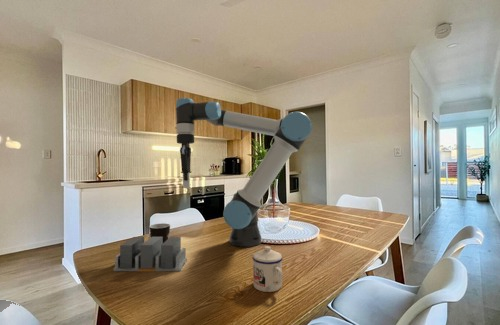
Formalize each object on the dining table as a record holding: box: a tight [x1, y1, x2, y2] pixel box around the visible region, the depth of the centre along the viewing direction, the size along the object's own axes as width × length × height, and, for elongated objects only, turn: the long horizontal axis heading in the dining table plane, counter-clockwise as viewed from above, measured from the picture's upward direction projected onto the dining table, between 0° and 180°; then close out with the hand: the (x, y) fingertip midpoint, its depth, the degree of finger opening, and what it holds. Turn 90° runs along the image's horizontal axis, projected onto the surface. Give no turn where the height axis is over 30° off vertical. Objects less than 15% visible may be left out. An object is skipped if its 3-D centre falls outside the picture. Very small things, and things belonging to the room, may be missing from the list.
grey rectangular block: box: [141, 237, 163, 268], centre depth 90 cm, size 4×10×8 cm, turn 0°
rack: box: [113, 236, 188, 273], centre depth 90 cm, size 23×10×9 cm, turn 90°
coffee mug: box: [149, 222, 171, 243], centre depth 110 cm, size 12×9×10 cm
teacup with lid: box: [252, 245, 284, 293], centre depth 75 cm, size 12×9×12 cm
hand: (186, 187), depth 110 cm, fingers closed
